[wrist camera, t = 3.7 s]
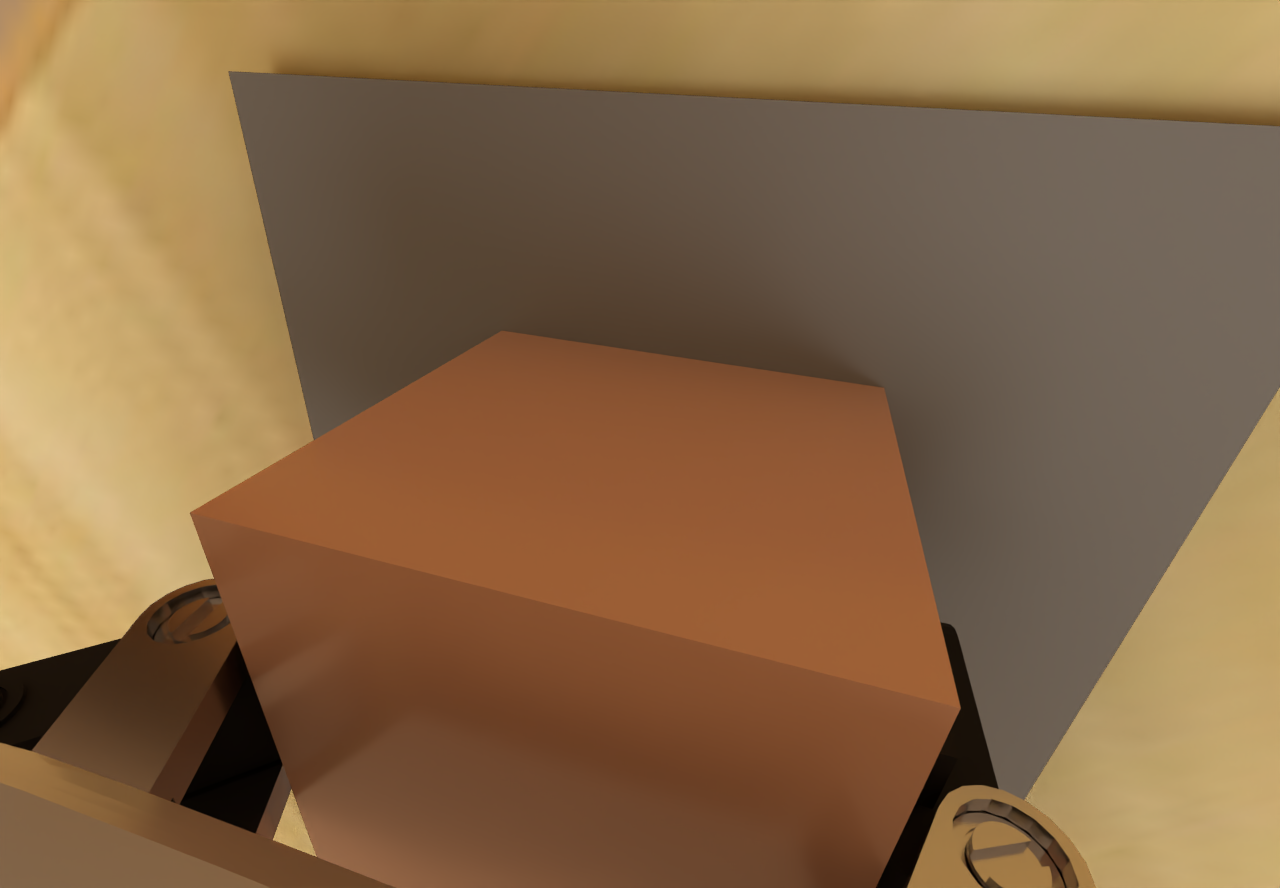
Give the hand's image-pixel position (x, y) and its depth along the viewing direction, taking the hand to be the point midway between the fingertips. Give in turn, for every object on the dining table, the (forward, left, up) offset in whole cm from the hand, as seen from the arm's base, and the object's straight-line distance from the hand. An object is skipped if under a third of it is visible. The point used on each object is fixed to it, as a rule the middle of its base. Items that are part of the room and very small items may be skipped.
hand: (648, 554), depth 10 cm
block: (0, 0, -1) cm, 1 cm away
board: (0, +3, -2) cm, 4 cm away
